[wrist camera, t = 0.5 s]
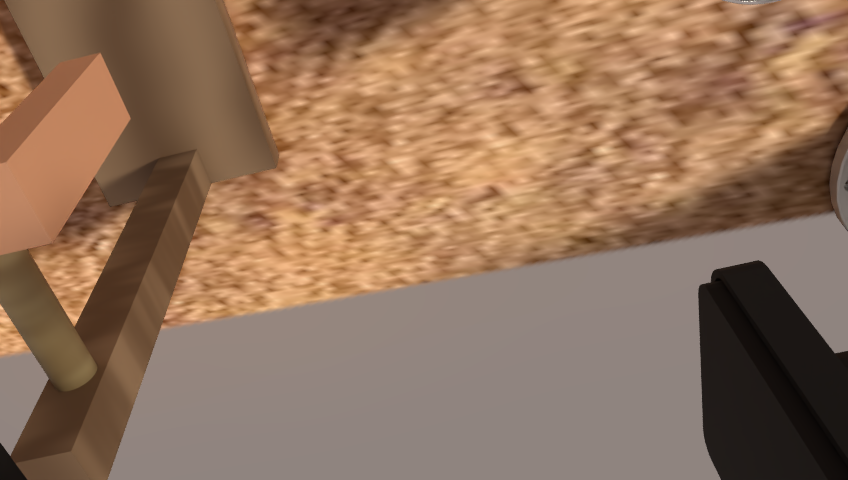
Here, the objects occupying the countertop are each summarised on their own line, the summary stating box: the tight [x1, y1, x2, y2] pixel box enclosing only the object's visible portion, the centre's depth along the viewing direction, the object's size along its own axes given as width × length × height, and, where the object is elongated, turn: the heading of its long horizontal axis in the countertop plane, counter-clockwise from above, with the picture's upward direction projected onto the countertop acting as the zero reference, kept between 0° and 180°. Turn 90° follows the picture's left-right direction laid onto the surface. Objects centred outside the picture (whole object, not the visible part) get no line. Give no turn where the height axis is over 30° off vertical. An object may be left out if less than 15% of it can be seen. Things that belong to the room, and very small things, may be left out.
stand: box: [0, 0, 279, 480], centre depth 30 cm, size 9×12×22 cm
